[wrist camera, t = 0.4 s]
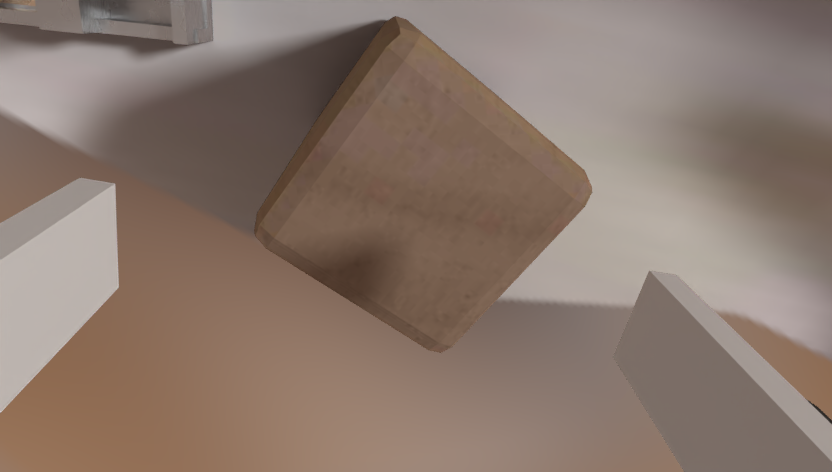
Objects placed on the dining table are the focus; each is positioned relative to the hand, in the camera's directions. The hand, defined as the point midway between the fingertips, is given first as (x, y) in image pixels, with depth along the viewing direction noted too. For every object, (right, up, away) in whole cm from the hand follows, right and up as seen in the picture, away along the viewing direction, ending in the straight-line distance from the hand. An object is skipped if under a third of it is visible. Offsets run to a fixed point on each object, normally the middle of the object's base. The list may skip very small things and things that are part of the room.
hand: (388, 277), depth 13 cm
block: (0, +10, +25) cm, 27 cm away
